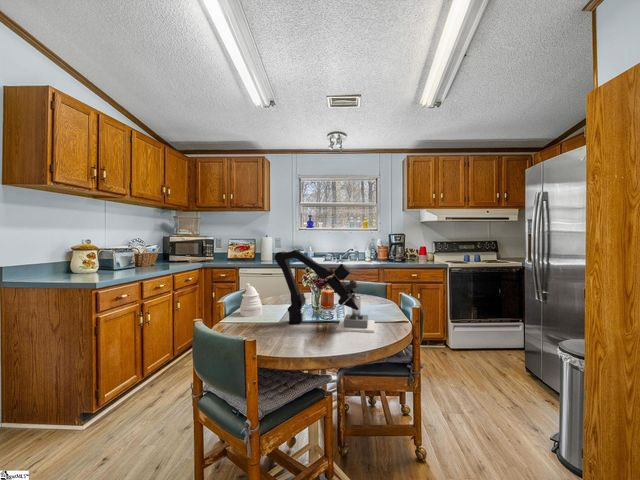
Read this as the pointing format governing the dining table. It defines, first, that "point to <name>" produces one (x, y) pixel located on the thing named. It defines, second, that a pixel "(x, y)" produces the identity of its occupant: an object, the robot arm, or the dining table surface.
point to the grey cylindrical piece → (358, 308)
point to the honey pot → (250, 303)
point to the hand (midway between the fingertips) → (358, 308)
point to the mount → (356, 324)
